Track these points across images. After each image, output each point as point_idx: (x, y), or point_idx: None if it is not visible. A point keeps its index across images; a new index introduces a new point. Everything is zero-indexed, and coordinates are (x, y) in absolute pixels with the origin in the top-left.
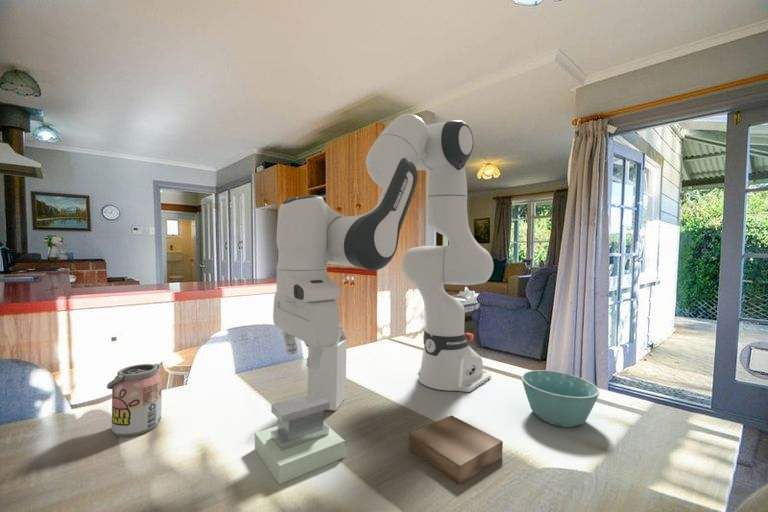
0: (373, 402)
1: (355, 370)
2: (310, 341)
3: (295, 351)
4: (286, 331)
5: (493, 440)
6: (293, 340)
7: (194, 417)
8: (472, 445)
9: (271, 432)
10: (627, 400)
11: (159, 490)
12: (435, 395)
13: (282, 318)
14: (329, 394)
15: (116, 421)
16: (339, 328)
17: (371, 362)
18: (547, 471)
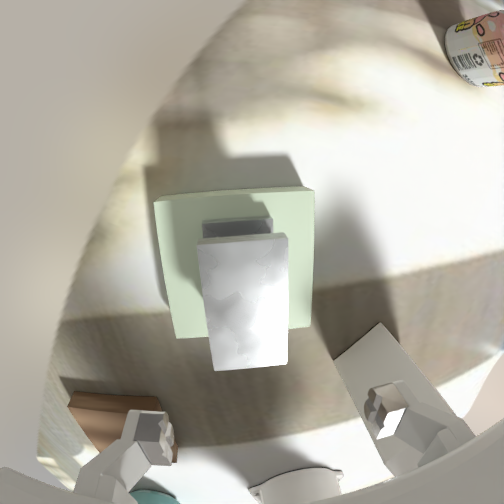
0: (314, 413)
1: None
2: (34, 497)
3: (367, 413)
4: (402, 480)
5: None
6: (407, 437)
7: (462, 131)
8: (101, 437)
9: (269, 218)
10: None
11: (267, 24)
12: (270, 468)
13: (481, 502)
14: (355, 372)
15: (464, 21)
16: None
17: None
18: (78, 444)
